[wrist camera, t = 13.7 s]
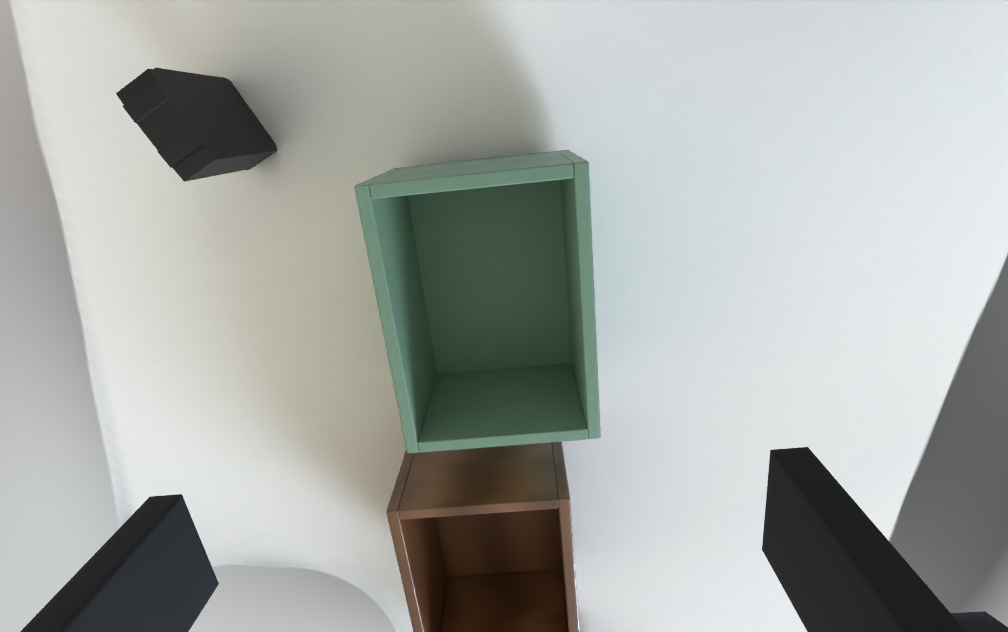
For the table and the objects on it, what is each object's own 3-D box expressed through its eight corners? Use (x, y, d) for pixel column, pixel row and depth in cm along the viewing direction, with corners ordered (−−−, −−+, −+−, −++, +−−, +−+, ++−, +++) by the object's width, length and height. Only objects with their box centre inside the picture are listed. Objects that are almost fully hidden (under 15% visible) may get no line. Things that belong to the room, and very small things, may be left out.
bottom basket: (556, 409, 40) (570, 498, 31) (568, 559, 45) (582, 674, 36) (415, 421, 41) (386, 511, 31) (442, 568, 46) (424, 683, 37)
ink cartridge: (201, 97, 33) (108, 92, 25) (229, 77, 32) (143, 65, 25) (252, 169, 34) (179, 183, 27) (279, 150, 34) (213, 160, 26)
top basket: (567, 148, 33) (588, 161, 24) (579, 360, 39) (600, 438, 29) (397, 166, 34) (353, 185, 25) (432, 373, 39) (407, 453, 30)
